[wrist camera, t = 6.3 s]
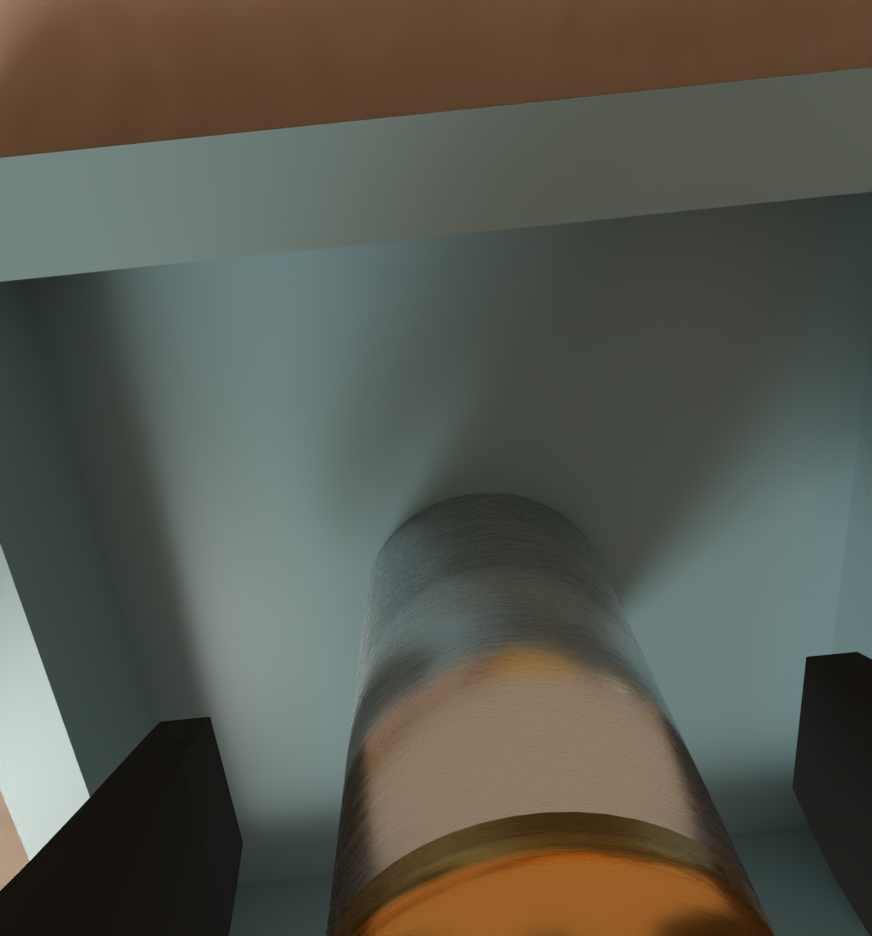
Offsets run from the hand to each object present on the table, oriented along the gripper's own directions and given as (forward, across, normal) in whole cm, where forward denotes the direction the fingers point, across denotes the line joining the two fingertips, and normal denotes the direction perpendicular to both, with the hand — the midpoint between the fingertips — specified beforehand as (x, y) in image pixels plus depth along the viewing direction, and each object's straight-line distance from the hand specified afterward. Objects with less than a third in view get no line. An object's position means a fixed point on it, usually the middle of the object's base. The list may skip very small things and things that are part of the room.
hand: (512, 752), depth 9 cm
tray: (+4, 0, 0) cm, 4 cm away
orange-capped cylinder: (+4, 0, 0) cm, 4 cm away
